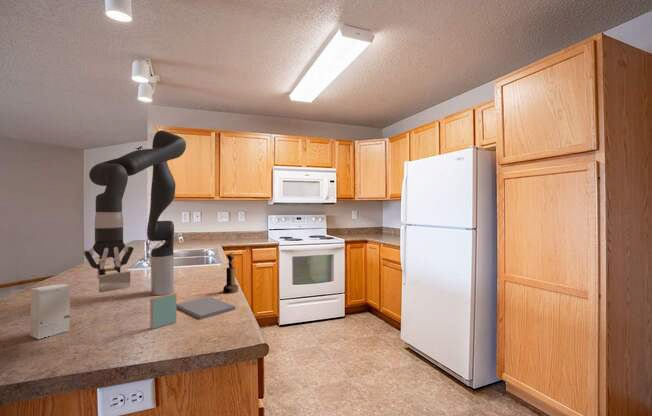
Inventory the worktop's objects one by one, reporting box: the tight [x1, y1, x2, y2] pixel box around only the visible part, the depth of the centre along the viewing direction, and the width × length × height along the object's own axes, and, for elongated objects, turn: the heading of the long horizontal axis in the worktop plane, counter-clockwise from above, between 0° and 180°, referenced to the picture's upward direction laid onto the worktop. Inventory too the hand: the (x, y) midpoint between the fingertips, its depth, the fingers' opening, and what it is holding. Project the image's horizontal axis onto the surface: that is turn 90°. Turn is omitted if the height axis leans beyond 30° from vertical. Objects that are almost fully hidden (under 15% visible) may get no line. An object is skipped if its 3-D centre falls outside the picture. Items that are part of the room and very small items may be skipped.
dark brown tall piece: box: [223, 252, 239, 294], centre depth 146 cm, size 7×6×18 cm
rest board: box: [176, 296, 236, 320], centre depth 122 cm, size 20×14×1 cm
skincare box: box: [29, 283, 71, 340], centre depth 98 cm, size 8×6×15 cm
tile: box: [149, 292, 177, 330], centre depth 105 cm, size 1×8×10 cm, turn 139°
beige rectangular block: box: [96, 263, 131, 293], centre depth 101 cm, size 15×8×5 cm, turn 48°
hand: (109, 279), depth 100 cm, fingers closed on beige rectangular block, 3 cm apart
